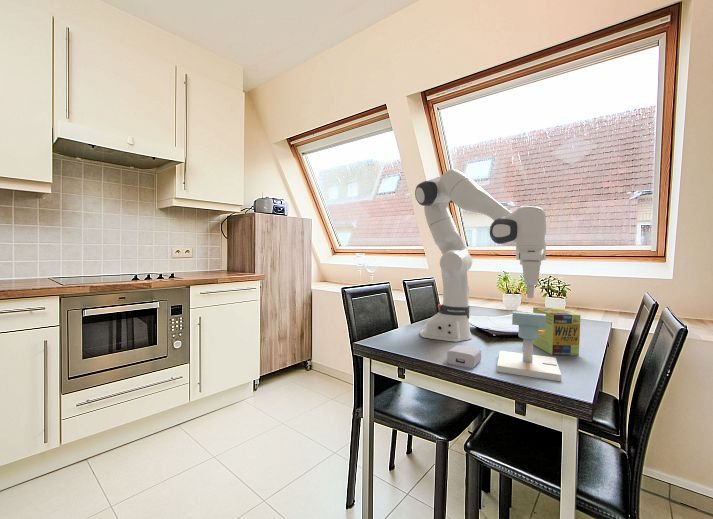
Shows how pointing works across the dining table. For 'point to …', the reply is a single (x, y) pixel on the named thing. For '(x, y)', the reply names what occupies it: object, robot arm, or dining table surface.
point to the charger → (464, 356)
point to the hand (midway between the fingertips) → (529, 295)
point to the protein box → (559, 332)
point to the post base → (528, 363)
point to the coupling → (529, 324)
